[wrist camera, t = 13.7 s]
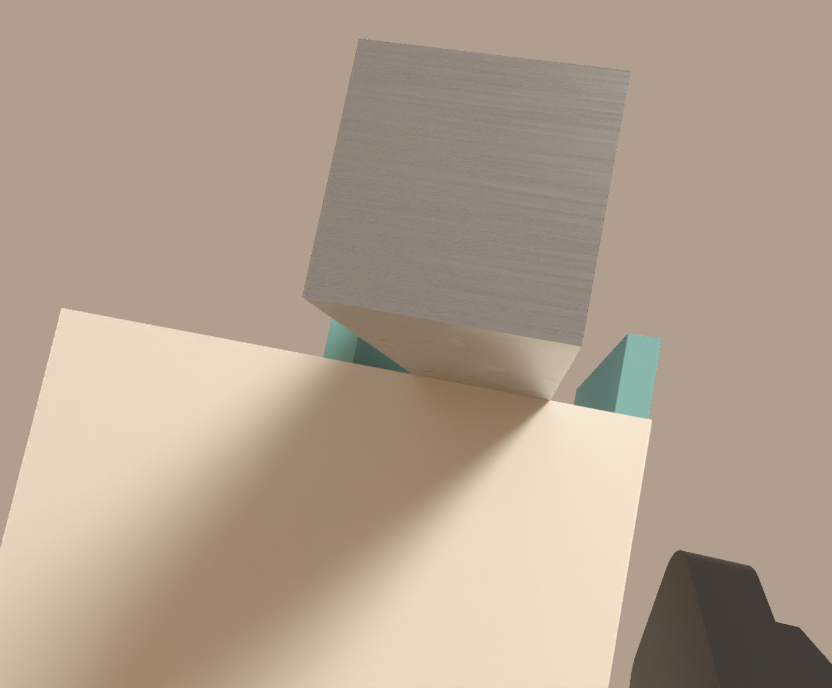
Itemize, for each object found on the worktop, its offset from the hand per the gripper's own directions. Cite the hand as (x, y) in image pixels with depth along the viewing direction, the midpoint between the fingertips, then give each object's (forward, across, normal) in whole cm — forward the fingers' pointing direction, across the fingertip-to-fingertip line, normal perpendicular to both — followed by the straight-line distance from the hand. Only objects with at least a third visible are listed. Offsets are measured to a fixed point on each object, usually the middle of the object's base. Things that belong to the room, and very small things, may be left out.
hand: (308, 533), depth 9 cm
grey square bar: (+14, +2, -5) cm, 15 cm away
